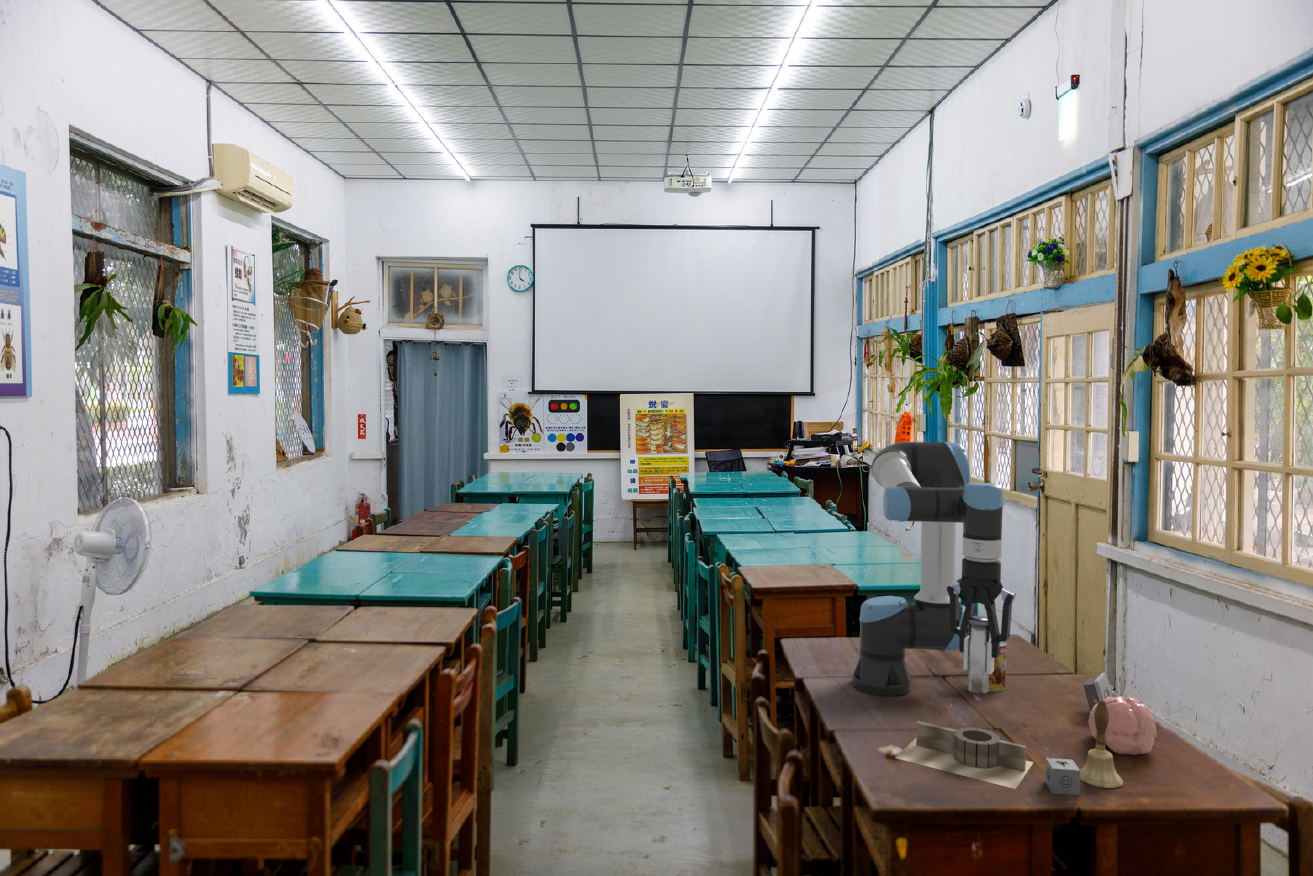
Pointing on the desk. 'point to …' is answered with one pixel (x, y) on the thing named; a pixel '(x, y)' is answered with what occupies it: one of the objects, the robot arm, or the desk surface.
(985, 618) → the pin
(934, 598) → the robot arm
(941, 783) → the desk surface
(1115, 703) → the brain
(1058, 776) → the dice cube
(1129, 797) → the desk surface
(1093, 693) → the electrical switch
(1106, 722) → the hand bell
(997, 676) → the canned food
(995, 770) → the hinge board
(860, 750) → the desk surface
